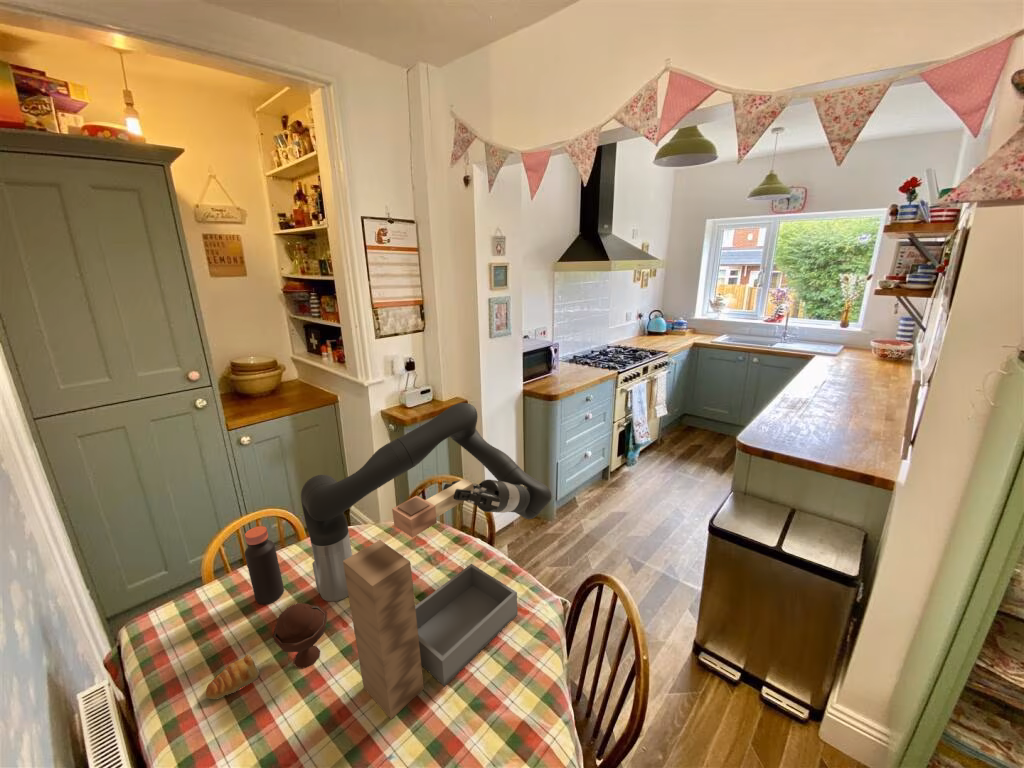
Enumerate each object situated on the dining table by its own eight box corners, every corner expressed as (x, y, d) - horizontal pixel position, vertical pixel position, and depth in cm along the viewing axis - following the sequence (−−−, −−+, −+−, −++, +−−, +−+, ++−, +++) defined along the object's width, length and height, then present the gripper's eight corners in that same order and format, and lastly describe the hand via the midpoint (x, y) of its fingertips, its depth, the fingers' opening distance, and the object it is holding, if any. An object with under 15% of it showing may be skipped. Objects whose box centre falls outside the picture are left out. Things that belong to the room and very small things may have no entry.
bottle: (289, 591, 116) (276, 529, 110) (264, 609, 110) (249, 543, 104) (275, 582, 119) (262, 520, 113) (250, 598, 114) (234, 534, 108)
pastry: (212, 711, 86) (207, 696, 85) (203, 689, 90) (198, 675, 89) (262, 677, 92) (259, 664, 91) (252, 659, 97) (248, 646, 96)
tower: (395, 660, 95) (379, 539, 86) (423, 688, 89) (410, 561, 80) (363, 687, 90) (342, 561, 80) (391, 719, 83) (372, 586, 74)
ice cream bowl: (343, 643, 100) (334, 591, 96) (307, 687, 90) (295, 631, 86) (307, 631, 103) (297, 580, 99) (268, 672, 93) (255, 617, 89)
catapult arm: (460, 488, 99) (458, 471, 97) (478, 497, 95) (477, 480, 94) (394, 525, 86) (391, 507, 84) (412, 537, 82) (410, 518, 81)
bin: (472, 584, 117) (471, 563, 115) (517, 614, 107) (516, 592, 105) (399, 644, 99) (396, 620, 97) (444, 686, 89) (442, 661, 87)
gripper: (482, 473, 110) (434, 465, 97) (524, 491, 101) (478, 485, 88) (473, 501, 109) (423, 497, 96) (515, 522, 100) (467, 520, 87)
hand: (450, 491), depth 92 cm, fingers closed on catapult arm, 3 cm apart
